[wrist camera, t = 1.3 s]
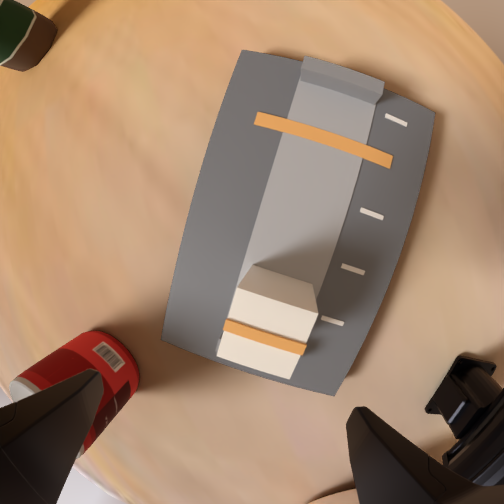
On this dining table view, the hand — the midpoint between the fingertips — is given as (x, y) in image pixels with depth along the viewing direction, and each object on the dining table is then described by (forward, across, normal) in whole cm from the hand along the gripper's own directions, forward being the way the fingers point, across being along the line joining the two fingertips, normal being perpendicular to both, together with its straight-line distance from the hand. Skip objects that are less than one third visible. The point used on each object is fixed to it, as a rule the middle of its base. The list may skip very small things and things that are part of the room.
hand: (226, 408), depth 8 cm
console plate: (+12, -3, -5) cm, 14 cm away
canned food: (+14, +12, +12) cm, 22 cm away
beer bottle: (+19, +30, -23) cm, 42 cm away
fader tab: (+10, -2, 0) cm, 10 cm away
